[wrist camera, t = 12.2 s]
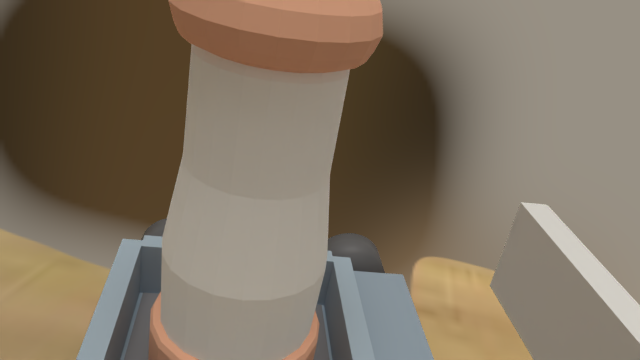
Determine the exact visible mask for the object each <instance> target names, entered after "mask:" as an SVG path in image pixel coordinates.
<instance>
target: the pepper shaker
mask: <svg viewBox="0 0 640 360" xmlns="http://www.w3.org/2000/svg"><path fill="white" fill-rule="evenodd" d="M169 4H170V8H171V12H172V16H173V20H174V23H175V25H176V27H177V30H178V32H179V34H180V35H181V36H182V37H183V38H184V39H186V40H187V41H188V42H189V43H191V44H192V47H191V59H190V73H189V87H188V97H187V98H188V99H187V112H186V123H185V137H184V149H183V156H182V161H181V164H180V168H179V172H178V176H177V180H176V184H175V188H174V193H173V197H172V200H171V204H170V208H169V213H168V216H167V221H166V225H165V229H164V233H163V237H162V265H161V292H160V293H159V295H158V297H157V299H156V301H155V302H154V304H153V306H152V308H151V313H150V333H149V354H148V360H313V359H314V354H315V350H316V345H317V340H318V332H319V325H320V324H319V321H318V317H317V314H316V311H315V309H316V305H317V301H318V297H319V293H320V289H321V285H322V281H323V277H324V273H325V269H326V261H327V250H328V218H329V215H328V214H329V186H330V185H329V183H330V171H331V165H332V160H333V155H334V150H335V145H336V139H337V134H338V129H339V124H340V119H341V114H342V108H343V103H344V98H345V93H346V87H347V82H348V77H349V71H350V69H354V68H356V67H358V66H360V65H362V64H363V63H365V62H366V61H367V60H368V58H369V57H370V56H371V55H372V53H373V52H374V50H375V49H376V47H377V45H378V43H379V41H380V40H381V38H382V36H383V19H382V5H381V3H380V0H169Z"/></svg>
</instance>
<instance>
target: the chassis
mask: <svg viewBox="0 0 640 360" xmlns="http://www.w3.org/2000/svg"><path fill="white" fill-rule="evenodd" d="M166 221H167V219H163V220H160V221H157V222H155V223H154V224H152V225H151V226H150V227H149V228H148V229H147V230H146V231H145V233H144V235H143V237H142V240H131V239H122V242H121V245H120V247H119V250H118V253H117V255H116V258H115V260H114V263H113V265H112V268H111V271H110V273H109V276H108V278H107V281H106V284H105V286H104V289H103V291H102V294H101V296H100V299H99V302H98V304H97V307H96V309H95V312H94V315H93V317H92V320H91V322H90V325H89V328H88V330H87V333H86V335H85V338H84V341H83V343H82V346H81V348H80V351H79V354H78V356H77V359H76V360H148V354H149V333H150V313H151V308H152V306H153V304H154V302H155V301H156V299H157V297H158V295H159V293H160V292H161V265H162V237H163V233H164V229H165V225H166ZM315 311H316V314H317V317H318V321H319V324H320V325H319V332H318V340H317V345H316V350H315V354H314V359H313V360H434V358H433V356H432V353H431V350H430V348H429V345H428V342H427V339H426V337H425V334H424V331H423V328H422V326H421V323H420V320H419V318H418V315H417V312H416V309H415V307H414V304H413V301H412V298H411V296H410V293H409V291H408V288H407V285H406V282H405V279H404V277H403V275H400V274H387V273H385V272H384V269H383V266H382V263H381V260H380V257H379V253H378V250H377V248H376V246H375V245H374V244H373V243H372V242H371V241H370V240H369V239H368V238H366V237H364V236H362V235H358V234H352V233H351V234H350V233H347V234H340V235H336V236H334V237H331V238H329V239H328V250H327V261H326V269H325V273H324V277H323V281H322V285H321V289H320V293H319V297H318V301H317V305H316V309H315Z"/></svg>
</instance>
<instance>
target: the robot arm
mask: <svg viewBox="0 0 640 360" xmlns="http://www.w3.org/2000/svg"><path fill="white" fill-rule="evenodd" d="M490 287H491V288H492V290H493V292H494V293H495V295H496V297H497V298H498V300H499V302H500V304H501V305H502V307H503V309H504V310H505V312H506V314H507V315H508V317H509V319H510V320H511V322H512V324H513V326H514V327H515V329H516V331H517V332H518V334H519V336H520V337H521V339H522V341H523V342H524V344H525V346H526V348H527V349H528V351H529V353H530V354H531V356H532V358H533V359H534V360H640V305H639V304H638V303H637V302H636V301H635V300H634V299H633V298H632V297H631V296H630V295H629V293H628V292H627V291H626V290H625V289H624V288H623V287H622V286H621V285H620V284H619V282H618V281H617V280H616V279H615V278H614V277H613V276H612V275H611V274H610V273H609V272H608V271H607V269H606V268H605V267H604V266H603V265H602V264H601V263H600V262H599V261H598V260H597V259H596V257H595V256H594V255H593V254H592V253H591V252H590V251H589V250H588V249H587V248H586V247H585V246H584V244H583V243H582V242H581V241H580V240H579V239H578V238H577V237H576V236H575V235H574V233H573V232H572V231H571V230H570V229H569V228H568V227H567V226H566V225H565V224H564V223H563V222H562V221H561V219H560V218H559V217H558V216H557V215H556V214H555V213H554V212H553V211H552V210H551V208H550V207H549V206H548V205H543V204H533V203H523V202H521V203H520V206H519V208H518V211H517V214H516V217H515V219H514V222H513V224H512V227H511V230H510V233H509V235H508V238H507V241H506V243H505V246H504V249H503V252H502V255H501V257H500V260H499V262H498V265H497V268H496V270H495V273H494V276H493V279H492V281H491V284H490Z"/></svg>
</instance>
